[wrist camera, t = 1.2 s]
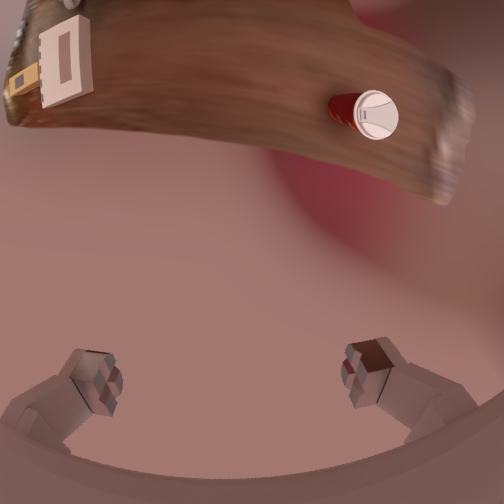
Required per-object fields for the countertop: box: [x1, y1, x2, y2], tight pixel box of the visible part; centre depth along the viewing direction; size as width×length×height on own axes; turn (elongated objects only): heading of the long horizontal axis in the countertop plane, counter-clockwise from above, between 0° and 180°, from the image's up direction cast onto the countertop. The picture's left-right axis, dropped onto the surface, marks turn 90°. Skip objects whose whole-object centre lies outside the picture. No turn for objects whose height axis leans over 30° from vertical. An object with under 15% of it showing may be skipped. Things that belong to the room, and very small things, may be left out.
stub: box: [9, 62, 40, 97], centre depth 28 cm, size 4×8×5 cm, turn 94°
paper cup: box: [328, 90, 398, 140], centre depth 37 cm, size 8×8×14 cm
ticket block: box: [39, 15, 94, 108], centre depth 29 cm, size 16×9×5 cm, turn 4°
